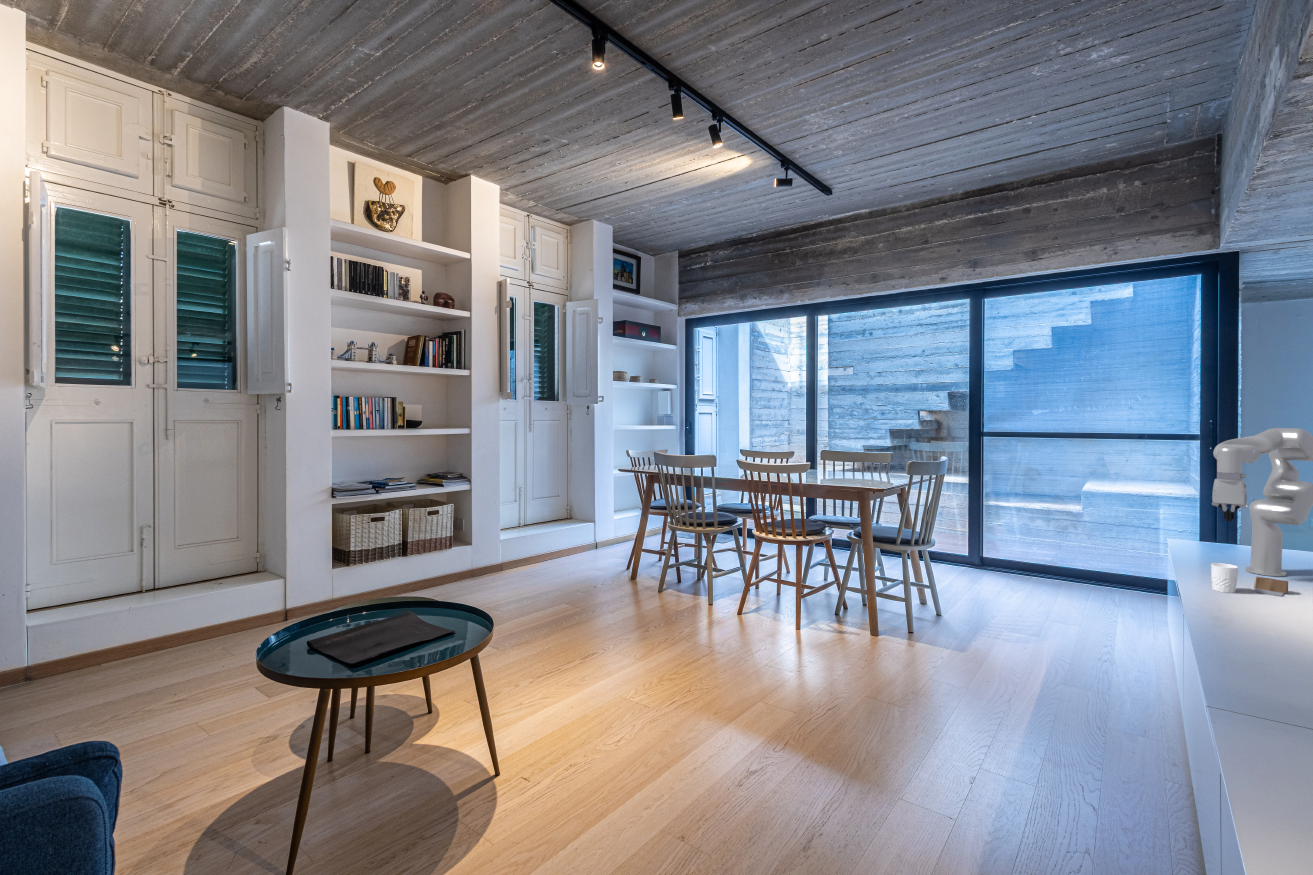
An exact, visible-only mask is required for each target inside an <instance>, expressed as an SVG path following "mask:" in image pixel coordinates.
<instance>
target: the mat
mask: <svg viewBox="0 0 1313 875" xmlns="http://www.w3.org/2000/svg"><path fill="white" fill-rule="evenodd" d="M1254 593H1255V594H1264V595H1271V596H1277V597H1283V596H1284V595H1285V593H1280V592H1274V591H1268V590H1261V589H1255V590H1254Z"/></svg>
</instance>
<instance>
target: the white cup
mask: <svg viewBox="0 0 1313 875" xmlns="http://www.w3.org/2000/svg"><path fill="white" fill-rule="evenodd" d="M1238 572H1239V566H1237V565H1234V564H1230V563H1223V562H1222V563H1221V562H1219V563H1218V562H1213V563H1211V564H1210V576H1211V577H1210V580H1211V589H1212V590H1213V591H1215V592H1218V593H1219V592H1220V593H1224V594H1225V593H1227V594H1235V593H1236V587H1237V584H1238V583H1237V582H1238Z"/></svg>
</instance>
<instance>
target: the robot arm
mask: <svg viewBox="0 0 1313 875" xmlns="http://www.w3.org/2000/svg"><path fill="white" fill-rule="evenodd" d="M1212 454H1213V457H1214V458H1215V459H1216V478H1215V479H1214V481H1213V486H1212V496H1211V498H1212V502H1211V506H1213V507H1218V508H1220V509H1221V510H1222V512H1223V519H1224V520H1225V522H1232V521H1233V520H1235V511H1237V510H1239V509H1245V508H1248V504H1247V500H1248V499H1247V498H1248V497H1247V486H1246V481H1245V479H1244V478H1246V479H1247V478H1248V476H1247V474H1244V472H1243V464H1253V463H1256V462H1257V461H1259V460H1260V458H1261V456H1262V455H1267V454H1268V458H1269V460H1270V464H1271V472H1270V473H1269V474H1270V475H1269V476H1268V479H1267V480H1266V483H1265V485H1264V487H1263V490H1262V495H1263V497H1264V498H1263V499H1260V498H1259V499H1255V500H1253V501H1251V503H1250V504H1249V510H1248V511H1249V516H1250V521H1251V522H1250V523H1251V541H1250V543H1251V544H1250V566H1246V567H1245V571H1246V572H1248V573H1252V574H1256V575H1261V576H1267V577H1268V576H1269V577H1286V576H1287V572H1286V571H1285V570H1282V565H1283V564H1282V562H1283V539H1284V536H1283V531H1282V529H1281V528H1280V526H1279V525H1278V524H1281V525H1289V526H1301V525H1303V524H1304V523H1305V522H1306V521H1307V518H1308V516H1309V514H1310V512H1311V510H1312V508H1313V483H1311V482H1309V481H1304V480H1298V479H1299V477H1300V471H1299V470H1298V468H1297V467H1296V466H1295V465H1294V464H1293V463H1292V462H1291V461H1298V462H1313V435H1312V434H1311V433H1310V432H1309V431H1307V429H1306V430H1305V429H1303V428H1298V427H1294V428H1291V427H1289V428H1287V427H1274V428H1269V429H1266V430H1264V431H1262V432H1260V433H1257V434H1255V435H1249V436H1244V437H1239V438H1233V439H1228V440H1225V441H1222V442H1220V443H1218V444H1217V445H1216V446H1215V447H1214V449H1213V452H1212ZM1228 505H1231V507H1230V509H1228Z"/></svg>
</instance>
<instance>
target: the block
mask: <svg viewBox="0 0 1313 875" xmlns="http://www.w3.org/2000/svg"><path fill="white" fill-rule="evenodd" d="M1253 588H1254V589H1255V590H1256V589H1261V590H1268V591H1274V592H1280V593H1284V594H1288V592H1289V581H1288V580H1282V579H1276V578H1269V577H1263V576H1255V577H1254V580H1253Z"/></svg>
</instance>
